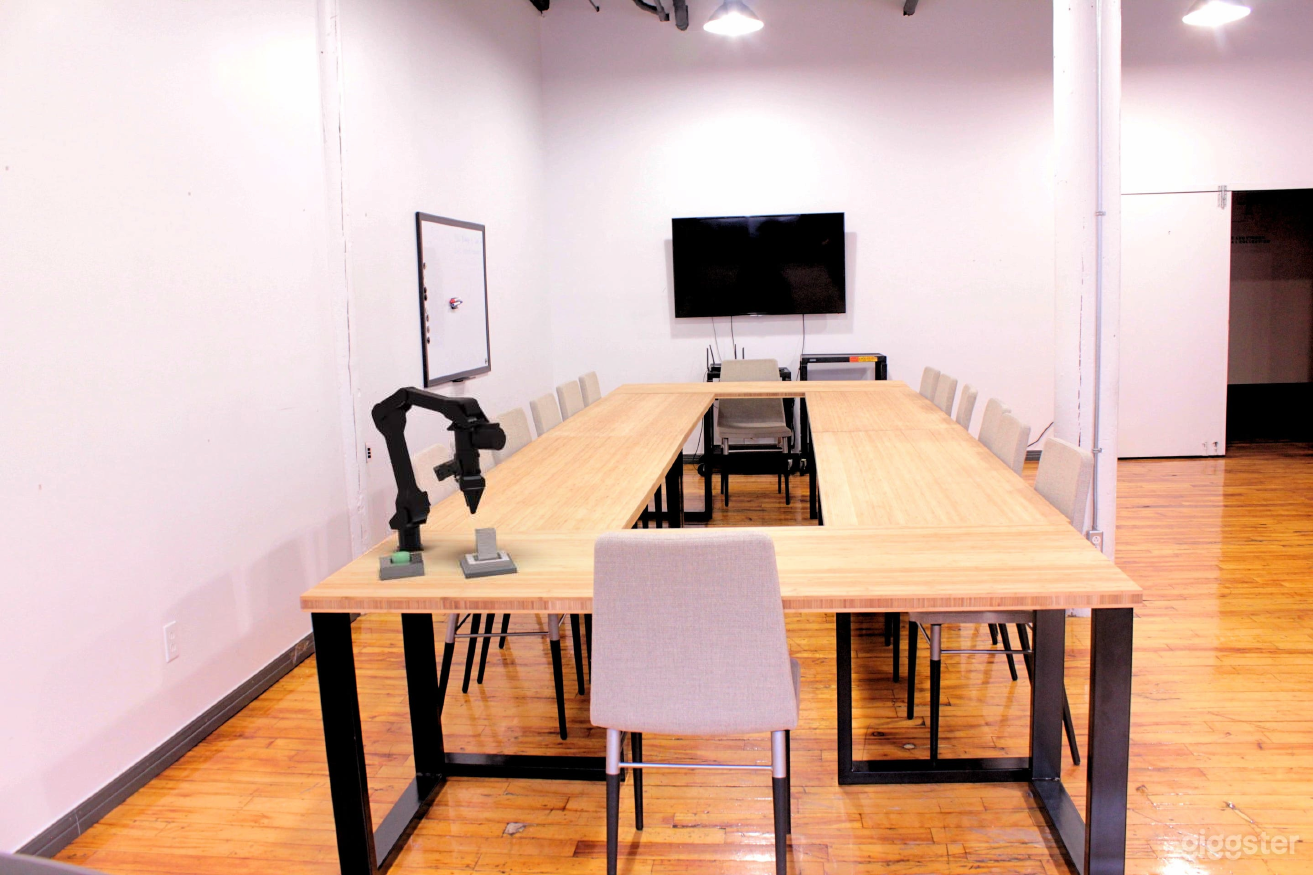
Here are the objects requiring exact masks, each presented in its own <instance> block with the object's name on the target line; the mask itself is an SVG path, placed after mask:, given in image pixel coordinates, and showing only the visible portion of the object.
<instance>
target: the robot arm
mask: <svg viewBox="0 0 1313 875" xmlns="http://www.w3.org/2000/svg"><path fill="white" fill-rule="evenodd" d="M413 406H414V407H418V408H422V409H426V410H429V411H432V412H436V413H439V414H442V416H443V417H444V418H445V419H447V420H449V421H450V422H451V423H450V425H448V427H447V428H446V430H447V432H453V433H454V437H453V438H454V448H455V450H454V451H455V452H454V453H453V458H452V459H450V460H447V461H444V462H443V463H440V464H438V465H435V466H434V467H433V468H432V469H433V472H434V475H435V476H436V479H437V480H438V482H442V481H444V480H446V479H448V478H450V477H452V476H453V479H454V481H455V483H457V485H458V488H459V490H460V492H461V493H462V494H463V497H464V500H465V501H464V502H465V504H466V507H467V508H469V512H470V514H471V515H475V514H476V513H477V510H478V507H479V504H480V501H481V499H482V497H483V493H484V491H485V490H486V486H487V485H486V478H485V476H484V475H482V469H481V466H480V465H481V464H480V462H481V461H480V458H481V453H480V451H481V450H482V451H497V452H498V451H502V450H503V449H504V448H505V446H506V443H507V434H506V433H505V431H504V429H503V428H501V424H500V422H490V420H489V419H488V416H487V415H486V414H485V412H484V411H483V410H482V408H481V406H480V404H479V402H478V400H477V399H476V398H474V397H465V396H455V397H454V396H453V397H452V396H451V397H450V396H446V395H443V394H438V393H435V392H431V391H428V390H424V389H420V388H417V387H416V386H406V387H405V386H403V387H401V388H398V389H397V390H396V391H395V392H394V393H392V394H391V395H390V396H388V397H386V398H384V399H383V400H381V401H380V402H377V403H375V404H374V405H373V407H372V409H371V412H370V413H371V415H370V416H371V418H372V421H373V423H374V426H375V428H376V430H377V431H378V432H379V433H380V434H381V435H382V436H383V438H384V440H385V444H386V448H387V452H388V455H389V460H390V461H389V462H390V464H391V467H392V472H393V475H394V480H395V483H396V487H397V488H396V489H397V493H396V498H395V501H394V503H395V504H394V505H395V512H394V514H393V516H391V518H390V519H389V521H388V525H389V527H390V529H391V531H392V530H394V531H397V538H398V545H397V546H396V547H397V548H396V549H397V552H409V553H416V552H422V551H425V550H424V549H425V548H424V545H423V543H422V536H421V525H426V524H427V521H428V518H429V515H430V513H431V506H432V504H431V502H430V498H429V494H428V491H427V490H423V491H422V490H421V488H419V487H418V484H417V481H416V475H415V473H414V468H413V465H412V461H411V457H410V452H409V449H408V445H407V441H406V438H405V429H406V425H407V423H408V420H407V413H408V412H409V411H410V410H411V409H412V407H413Z"/></svg>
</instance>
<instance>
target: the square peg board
mask: <svg viewBox="0 0 1313 875" xmlns="http://www.w3.org/2000/svg"><path fill="white" fill-rule="evenodd" d="M409 558H410V562H402V563H393V561H392V555H387V556H386V555H385V556H380V557H378V560H379V573H380V575H379V576H380V580H381V581H383V580H392V579H402V578H412V577H418V576H419V577H420V576H425V566H424V559H423V554H422V552H417V553H416V552H412V553H409Z"/></svg>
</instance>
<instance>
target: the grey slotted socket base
mask: <svg viewBox="0 0 1313 875" xmlns="http://www.w3.org/2000/svg"><path fill="white" fill-rule="evenodd" d="M497 557H498V560H489V561H480V562H477V553H466V554H465V557H464V558H459V565H460V567H461V569H462V571H463V572H462V573H463V575H464V579H474V578H483V577H491V576H498V575H508V574H510V575H511V574H516V573H518V567H517V566H516V564H515V563H514V561H513V559H512V557H511V556H510V553H507V552H506V551H505V550H504V549H503V550H497Z"/></svg>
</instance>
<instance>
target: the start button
mask: <svg viewBox="0 0 1313 875" xmlns="http://www.w3.org/2000/svg"><path fill="white" fill-rule="evenodd" d="M409 554H410V552H398V551H397V552H393V553H392V554H391V556H392V561H393V563H402V562H410V558H409Z"/></svg>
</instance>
